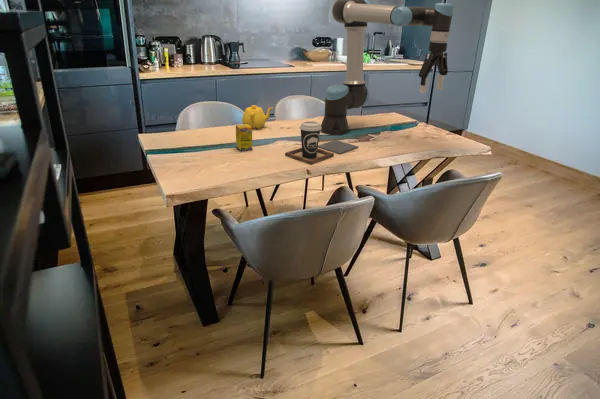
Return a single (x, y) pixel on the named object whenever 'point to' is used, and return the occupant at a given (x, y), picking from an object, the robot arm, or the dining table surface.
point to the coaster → (337, 147)
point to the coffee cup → (310, 138)
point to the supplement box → (243, 137)
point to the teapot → (255, 116)
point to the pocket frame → (291, 155)
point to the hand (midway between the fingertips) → (430, 91)
